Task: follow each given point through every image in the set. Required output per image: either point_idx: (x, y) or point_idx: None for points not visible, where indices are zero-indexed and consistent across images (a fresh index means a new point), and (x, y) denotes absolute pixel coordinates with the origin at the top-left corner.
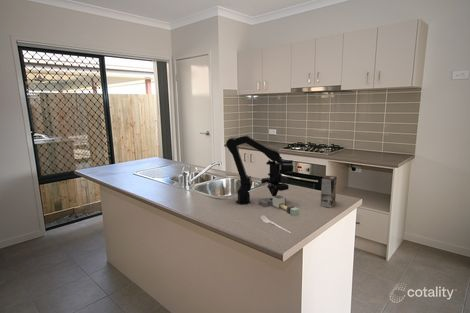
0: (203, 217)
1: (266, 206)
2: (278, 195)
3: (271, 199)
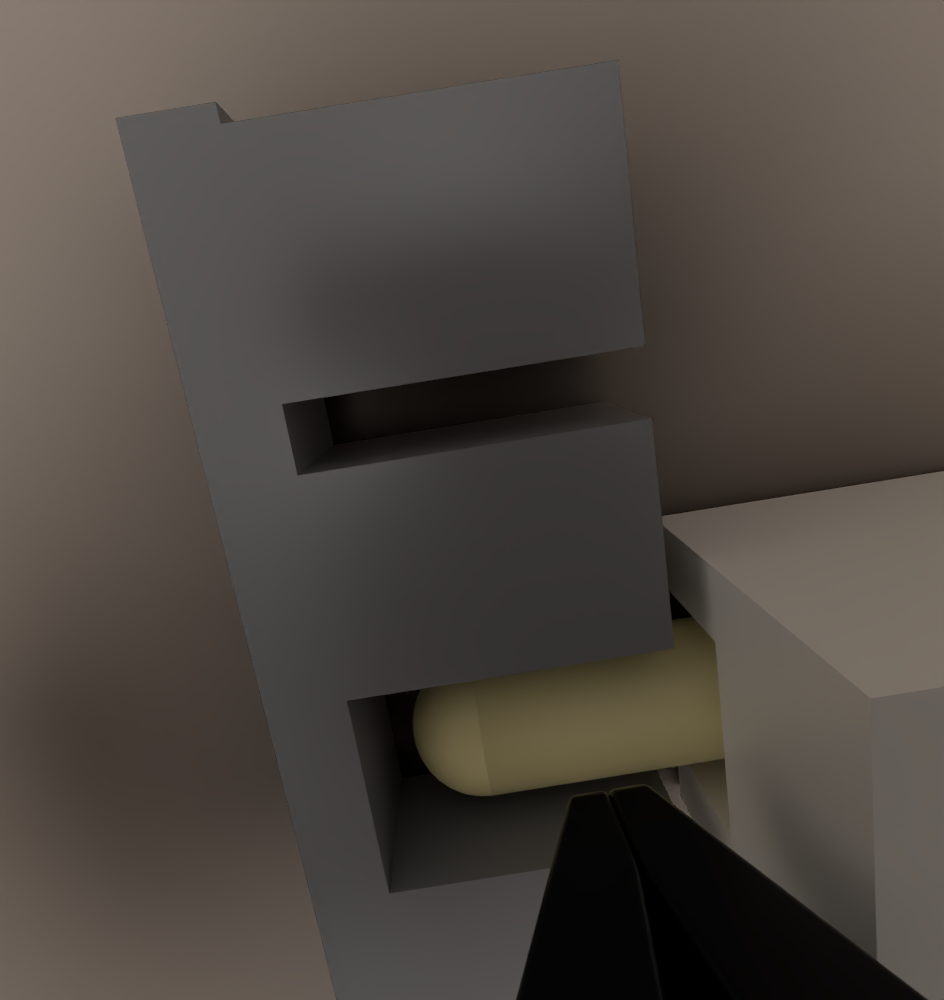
0: None
1: None
2: (924, 798)
3: (368, 759)
